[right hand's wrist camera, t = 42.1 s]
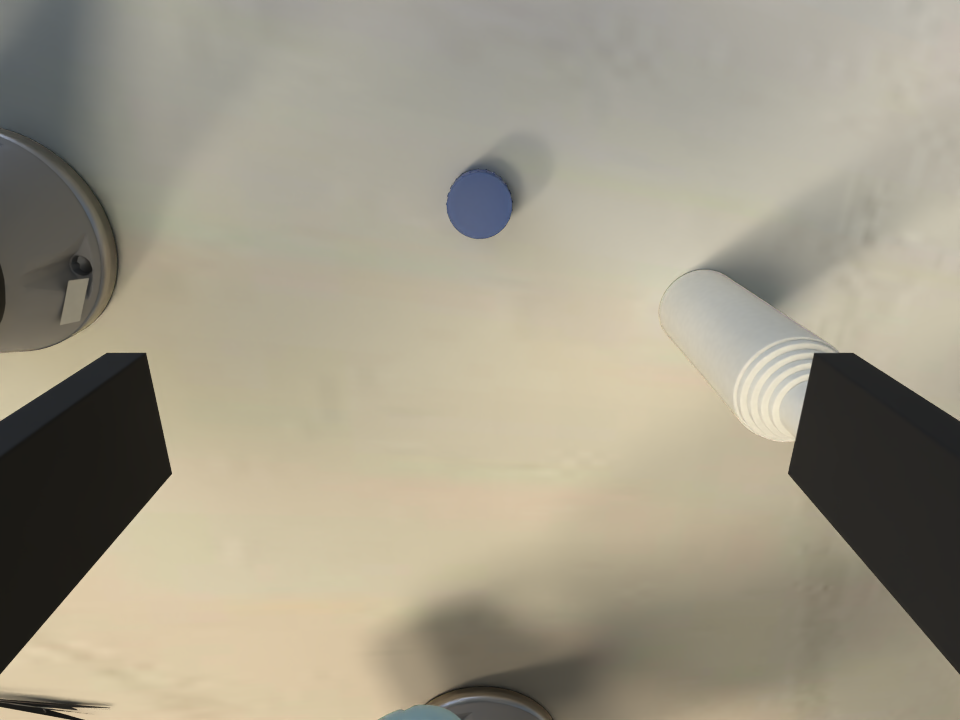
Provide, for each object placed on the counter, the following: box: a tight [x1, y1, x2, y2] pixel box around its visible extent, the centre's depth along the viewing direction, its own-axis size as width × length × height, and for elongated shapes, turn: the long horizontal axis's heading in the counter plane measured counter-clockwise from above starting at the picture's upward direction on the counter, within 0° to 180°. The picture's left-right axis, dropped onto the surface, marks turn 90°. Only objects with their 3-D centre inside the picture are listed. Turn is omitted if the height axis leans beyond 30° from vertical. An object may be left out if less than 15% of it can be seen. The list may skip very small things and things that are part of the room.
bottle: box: [659, 270, 839, 442], centre depth 36 cm, size 6×6×20 cm
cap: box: [446, 169, 513, 239], centre depth 41 cm, size 4×4×2 cm
